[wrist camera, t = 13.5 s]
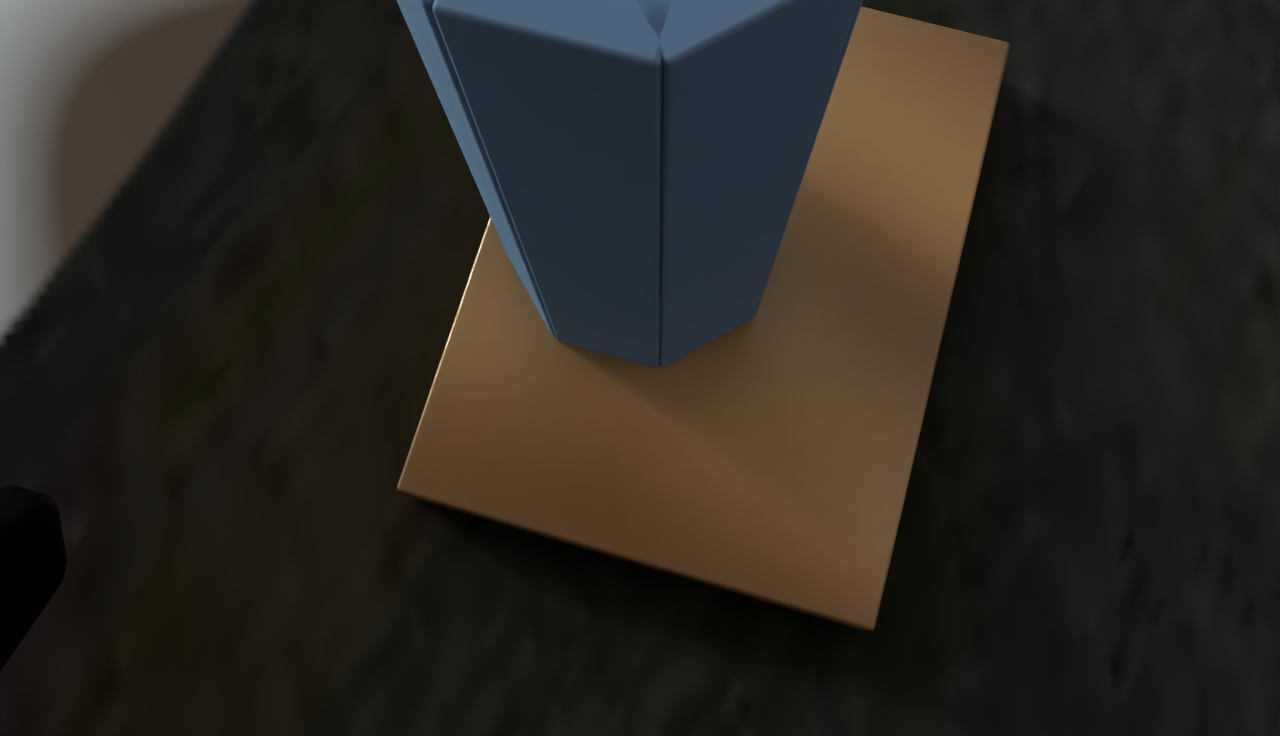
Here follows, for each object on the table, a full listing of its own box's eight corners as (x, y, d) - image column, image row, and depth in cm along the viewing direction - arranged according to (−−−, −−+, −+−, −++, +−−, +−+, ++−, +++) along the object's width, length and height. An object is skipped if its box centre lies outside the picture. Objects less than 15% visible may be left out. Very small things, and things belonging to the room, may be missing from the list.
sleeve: (736, 390, 19) (838, 110, 8) (481, 320, 19) (259, -33, 9) (800, 150, 20) (965, -374, 9) (557, 90, 20) (446, -482, 10)
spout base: (861, 630, 19) (917, 638, 15) (410, 497, 20) (345, 469, 16) (992, 72, 22) (1070, -53, 17) (589, -29, 22) (573, -171, 18)
